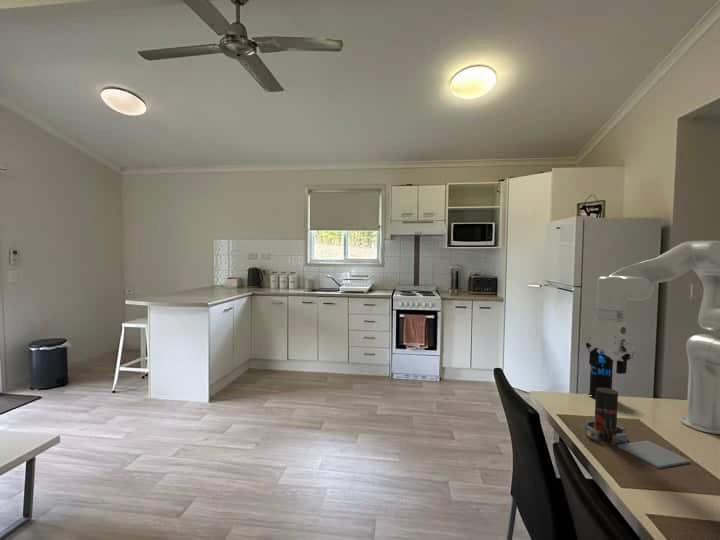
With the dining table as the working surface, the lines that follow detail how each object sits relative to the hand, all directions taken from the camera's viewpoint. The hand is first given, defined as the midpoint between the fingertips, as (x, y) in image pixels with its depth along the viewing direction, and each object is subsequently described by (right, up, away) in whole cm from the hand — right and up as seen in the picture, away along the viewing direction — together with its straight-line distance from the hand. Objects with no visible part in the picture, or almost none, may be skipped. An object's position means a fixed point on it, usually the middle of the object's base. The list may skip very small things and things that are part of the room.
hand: (606, 368), depth 119 cm
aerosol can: (+21, -21, +35) cm, 46 cm away
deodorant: (0, -22, +1) cm, 22 cm away
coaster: (+7, -23, -10) cm, 25 cm away
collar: (0, -22, +1) cm, 22 cm away
